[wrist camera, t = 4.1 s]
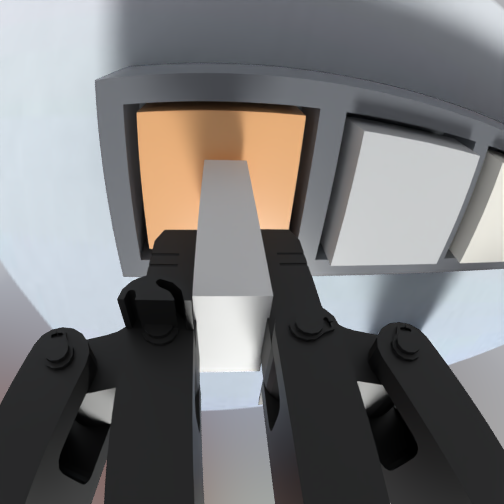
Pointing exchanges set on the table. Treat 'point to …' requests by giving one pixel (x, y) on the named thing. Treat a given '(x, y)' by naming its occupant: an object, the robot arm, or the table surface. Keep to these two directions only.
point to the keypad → (312, 152)
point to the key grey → (394, 194)
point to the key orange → (216, 157)
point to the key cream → (483, 216)
